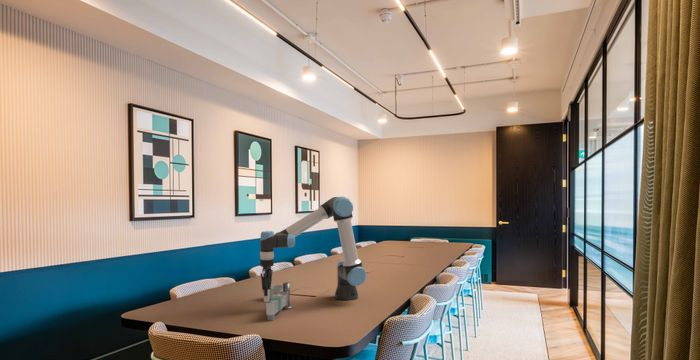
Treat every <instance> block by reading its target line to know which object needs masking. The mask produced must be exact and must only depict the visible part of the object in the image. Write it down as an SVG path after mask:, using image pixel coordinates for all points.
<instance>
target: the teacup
mask: <svg viewBox="0 0 700 360" xmlns="http://www.w3.org/2000/svg"><path fill="white" fill-rule="evenodd" d="M270 288H271V289H269V300H271V297H272V296H273V295H278V294H280V291H283V284H271V287H270ZM261 292H262V294H264V290H262V289H261Z"/></svg>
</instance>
